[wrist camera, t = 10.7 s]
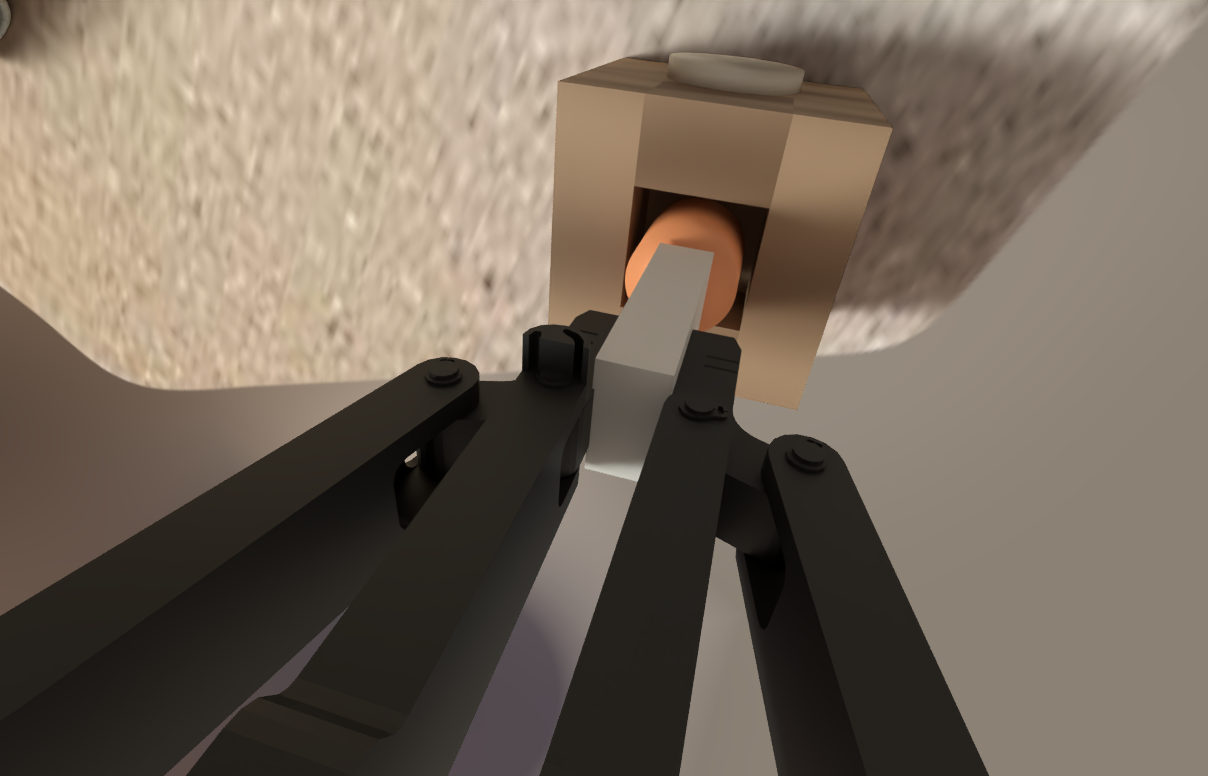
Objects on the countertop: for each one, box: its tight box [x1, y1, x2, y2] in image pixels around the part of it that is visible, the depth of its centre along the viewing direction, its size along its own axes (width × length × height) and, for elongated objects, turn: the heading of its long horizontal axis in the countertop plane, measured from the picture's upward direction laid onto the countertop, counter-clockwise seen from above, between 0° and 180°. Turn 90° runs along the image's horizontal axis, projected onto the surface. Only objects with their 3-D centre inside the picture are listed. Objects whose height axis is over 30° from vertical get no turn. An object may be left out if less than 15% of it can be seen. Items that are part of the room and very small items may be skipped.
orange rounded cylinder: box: [625, 198, 745, 331], centre depth 18 cm, size 3×3×3 cm
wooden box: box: [548, 53, 893, 410], centre depth 22 cm, size 10×9×8 cm
